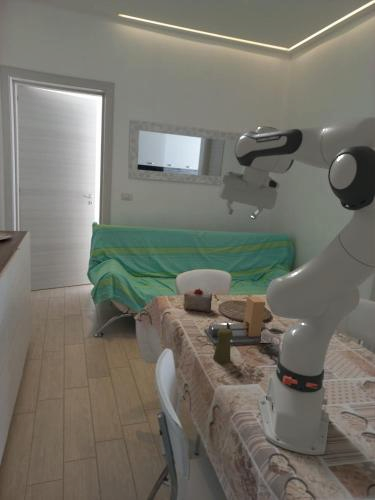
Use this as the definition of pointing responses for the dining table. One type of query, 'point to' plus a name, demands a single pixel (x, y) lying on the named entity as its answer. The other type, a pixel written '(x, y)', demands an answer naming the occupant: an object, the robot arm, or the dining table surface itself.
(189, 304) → the food item
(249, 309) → the orange brown tall block
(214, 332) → the grey banded bar
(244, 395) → the dining table surface
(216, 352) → the cork
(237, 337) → the base board
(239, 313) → the trivet
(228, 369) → the dining table surface
